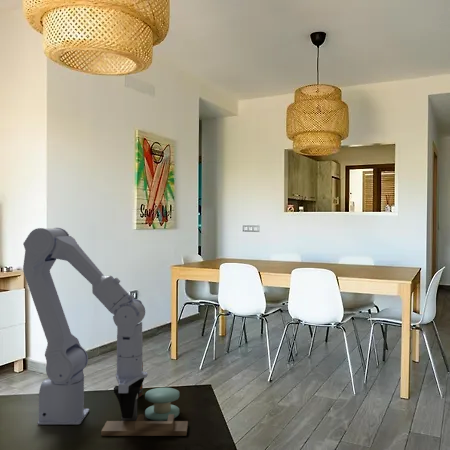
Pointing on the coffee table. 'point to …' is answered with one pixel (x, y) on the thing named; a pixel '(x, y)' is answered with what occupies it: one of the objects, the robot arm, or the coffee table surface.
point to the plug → (133, 413)
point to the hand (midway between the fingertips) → (129, 413)
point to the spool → (161, 403)
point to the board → (145, 427)
